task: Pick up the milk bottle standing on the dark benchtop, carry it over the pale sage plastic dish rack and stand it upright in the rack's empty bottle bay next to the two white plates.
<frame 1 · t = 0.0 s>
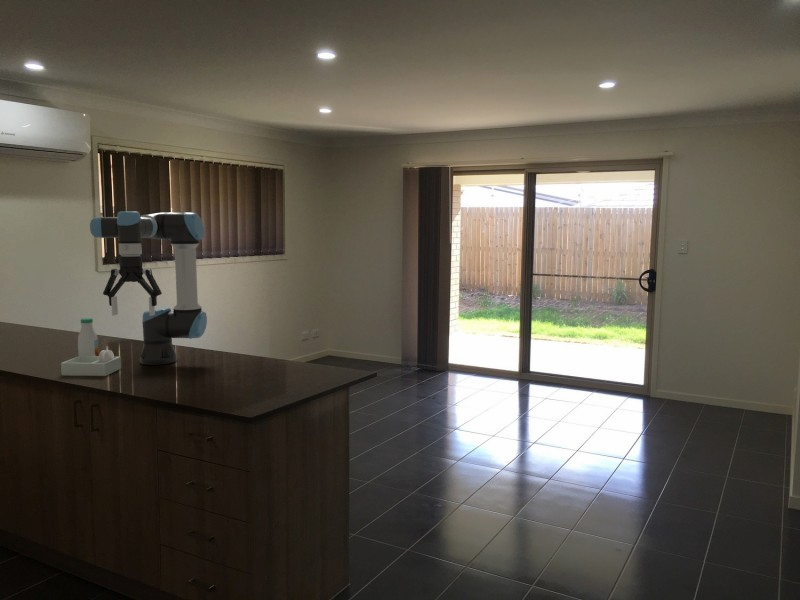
hand: (133, 315, 232), 28 cm above the countertop, fingers open, 13 cm apart
milk bottle: (89, 365, 278), on the countertop
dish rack: (92, 371, 265), on the countertop
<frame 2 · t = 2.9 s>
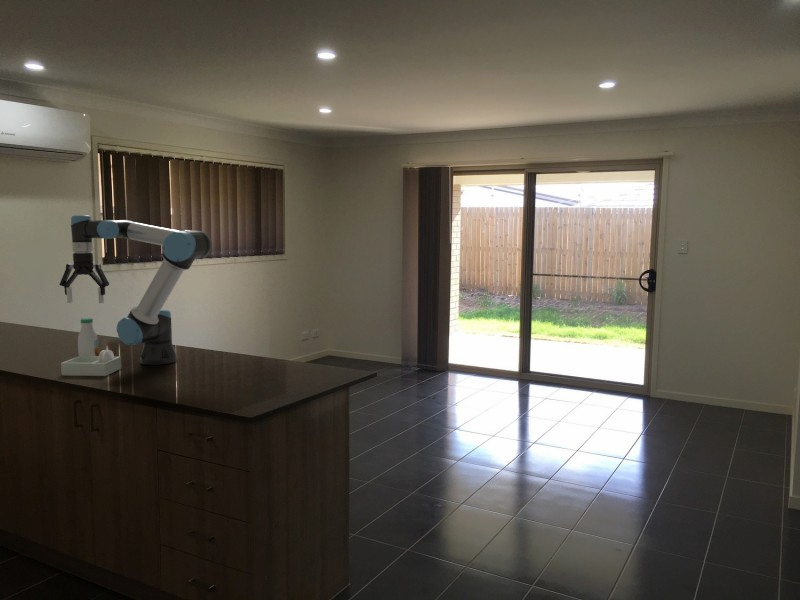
hand: (85, 302, 275), 27 cm above the countertop, fingers open, 13 cm apart
nothing on the countertop moved.
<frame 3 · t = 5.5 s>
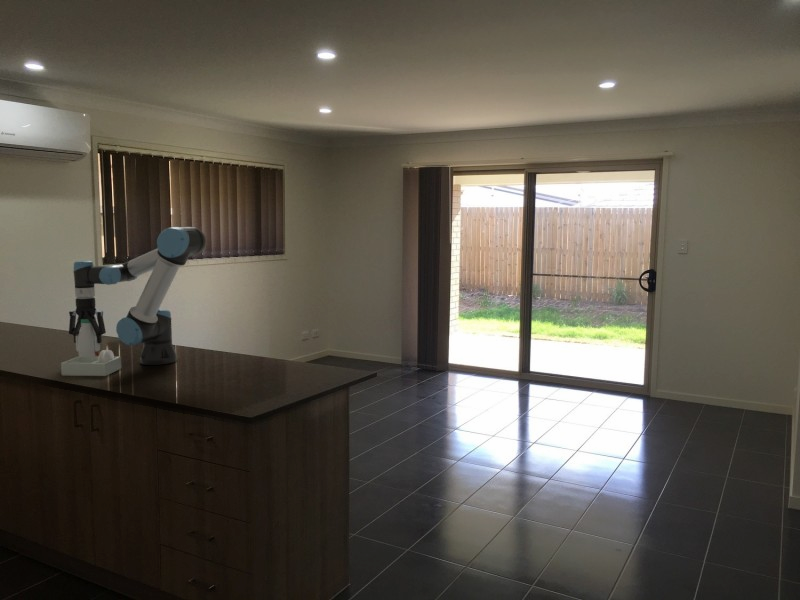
hand: (88, 350, 277), 6 cm above the countertop, fingers closed on milk bottle, 7 cm apart
milk bottle: (89, 365, 278), on the countertop, touching gripper
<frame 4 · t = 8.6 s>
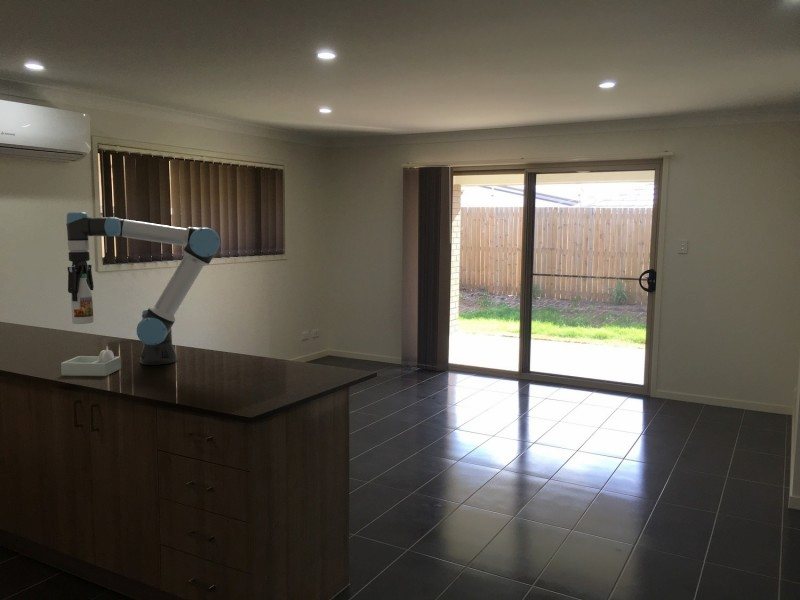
hand: (82, 307, 262), 26 cm above the countertop, fingers closed on milk bottle, 7 cm apart
milk bottle: (83, 323, 263), point 20 cm above the countertop, touching gripper
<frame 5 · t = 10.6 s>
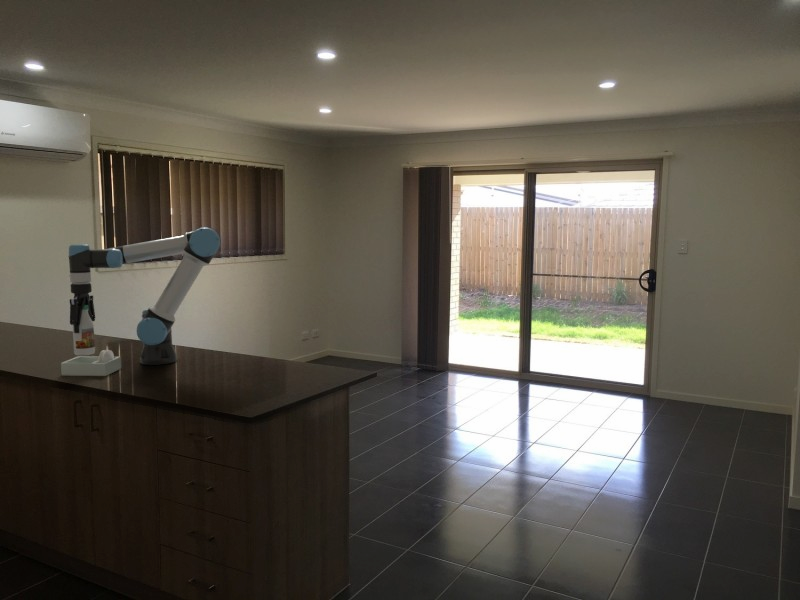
hand: (83, 338, 264), 14 cm above the countertop, fingers closed on milk bottle, 7 cm apart
milk bottle: (84, 354, 265), point 7 cm above the countertop, touching gripper
when the fingers open (9 cm above the countertop, at t = 12.0 s): milk bottle drops 2 cm, resting on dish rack.
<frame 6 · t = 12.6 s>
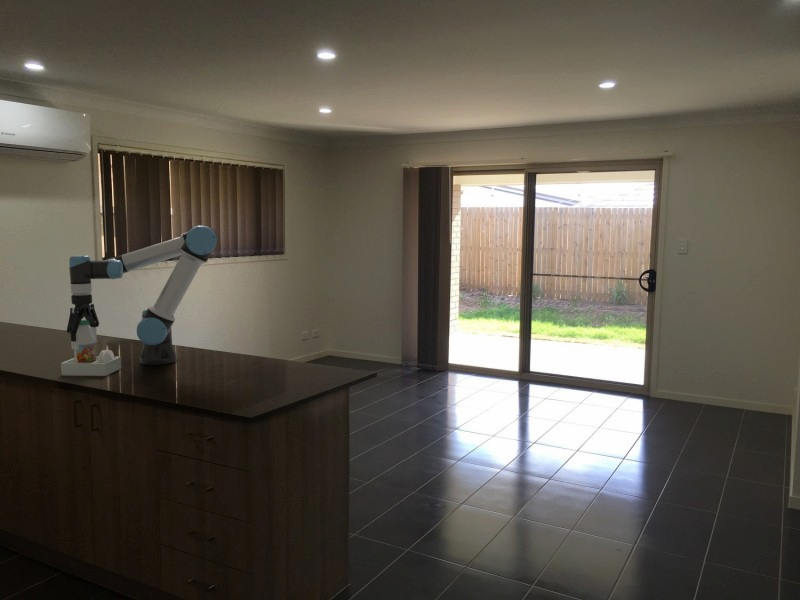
hand: (84, 345, 264), 11 cm above the countertop, fingers open, 13 cm apart
milk bottle: (86, 369, 265), point 1 cm above the countertop, touching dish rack
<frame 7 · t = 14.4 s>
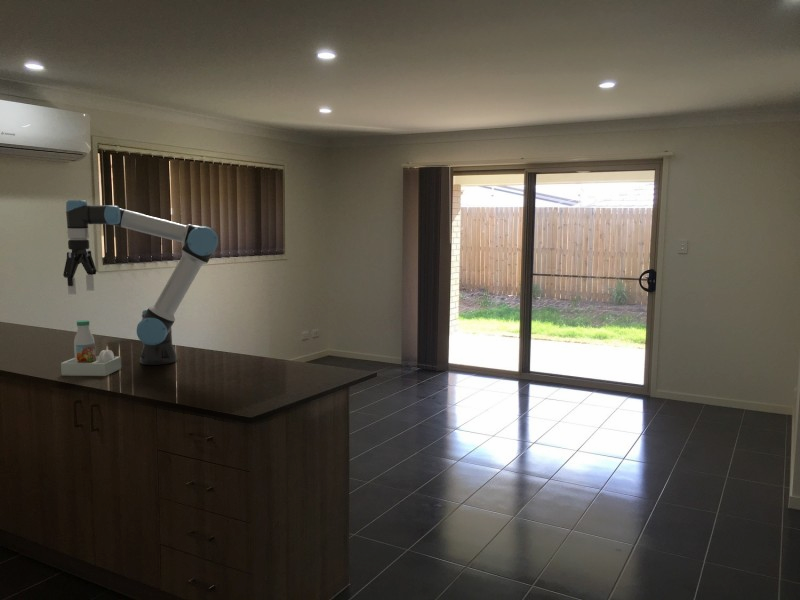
hand: (81, 292, 262), 33 cm above the countertop, fingers open, 13 cm apart
nothing on the countertop moved.
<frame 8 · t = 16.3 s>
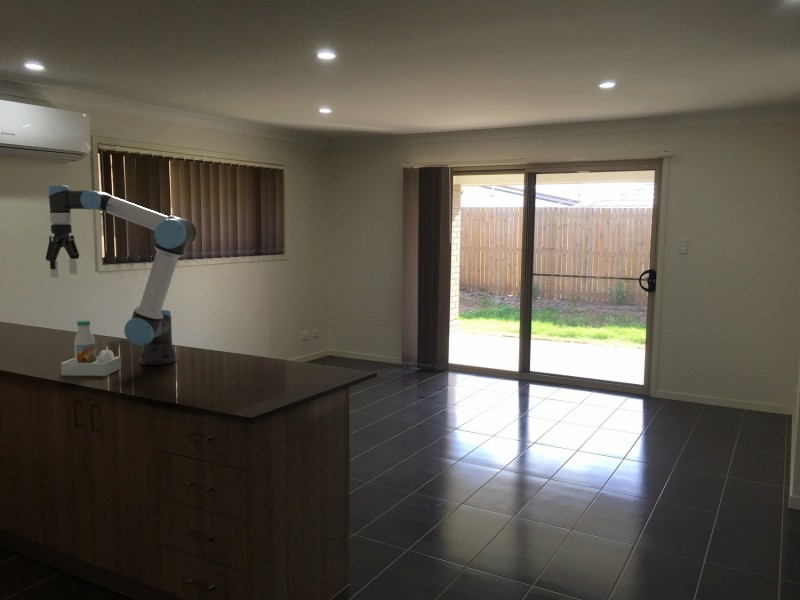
hand: (64, 275, 268), 39 cm above the countertop, fingers open, 13 cm apart
nothing on the countertop moved.
at the end: milk bottle 0.0 cm from the target spot on the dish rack, point 0.8 cm above the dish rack's base; milk bottle tilted 0°; the gripper is holding nothing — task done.
